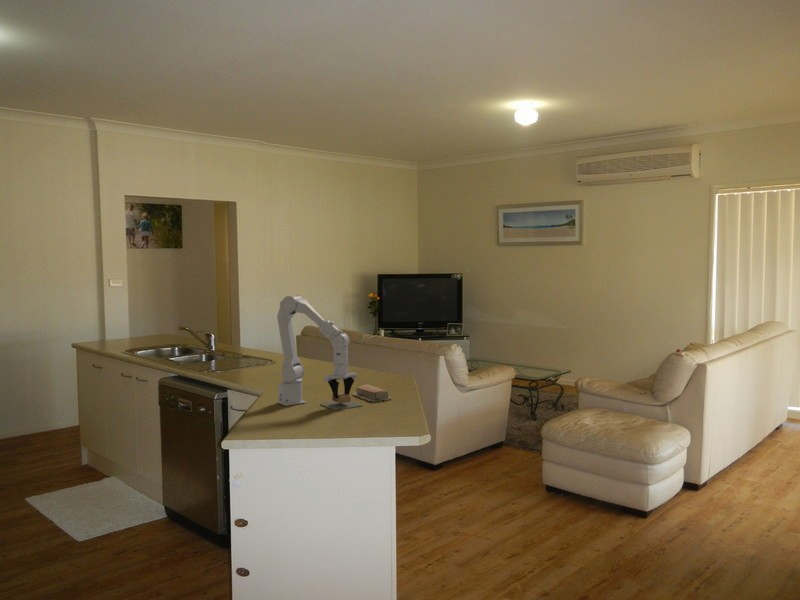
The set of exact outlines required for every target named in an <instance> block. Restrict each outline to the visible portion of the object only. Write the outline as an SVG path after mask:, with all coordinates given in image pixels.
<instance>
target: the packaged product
mask: <svg viewBox="0 0 800 600" xmlns="http://www.w3.org/2000/svg"><path fill="white" fill-rule="evenodd" d="M355 390H356V392H354V393H353V392H352V393H351V395H352V396H353V395H354V396H353V397H356V396H357V397H356V398H359V397H360V398H359V399H361V398H363V399H362V400H364V399H366V400H365V401H367V400H368V401H367V402H370V401H371V402H370V403H372V402H373V403H376V402H375V401H380V402H383V401H382V400H387V401H391V400H390V399H393V398H392V396H390V395H389V391H388V390H386V389H383V388H381V387H378V386H374V385H371V384H368V383H367V384H362V385H360V386H358V387H356V389H355Z"/></svg>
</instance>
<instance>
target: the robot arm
mask: <svg viewBox="0 0 800 600" xmlns="http://www.w3.org/2000/svg"><path fill="white" fill-rule="evenodd" d="M297 313H299V314H304V315H305V316H306V317H308V318H309V319H310V320H311V321H312V322H313V323H315V324H316V325H317V326H318V330H319V332H320V333H321V334H322V335H323V336H324V337H325V338H326V339H327V340H328V341H330V344H331V346H332V348H333V374H327V375H324V376H323V381H324V382H327V383H328V385H329V386H330V387H329V388H330V389H331V392H332V394H333V396H334V398H338V393H339V384H340V382H339V381H338V380H342V381H343V386H344V387H343V388H344V389H343V390H344V392H343V393H344V394H347V395H350V392H351V389H352V386H353V385H354V382H355V379H357V378H359V375H358V374H359V373H358V372H349V348H348V347H349V345H350V342H351V341H350V339H351V338H350V336H349V335H348V333H345V332H343V330H341V329H339V328H338V327H337V326H336V325H335V323H334V321H333V320H330V319H329V320H328V319H324V318H323V316H321V315H320V313H319V312H318V311H317V310H316V309H315V308H314V307H313V306H312V305H311V304H310V303H309V302H308V300H307V299H306V298H304V297H303V296H302V295H299V294H295V295H288V296H287V295H286V296H285V297H283V299H282V300H280V302H279V309H278V313H277V317H276V318H277V324H278V331H279V335H280V343H281V347H282V353H283V361H282V364H281V367H282V369H281V373H280V374H281V378H282V380H283V382H280V383H278V385H277V403H278V404H280V405H282V406H287V407H288V406H295V405H300V404H306V403H307V401H305V400H303V379H302V378H303V376H304V375H305V368H304V366H303V364H302V360H301V359H300V358H299V357H298V353H297V347H296V342H295V341H296V340H295V335H294V329H293V323H292V318H293V317H294V316H295V315H296V314H297Z"/></svg>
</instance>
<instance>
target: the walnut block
mask: <svg viewBox="0 0 800 600" xmlns="http://www.w3.org/2000/svg"><path fill="white" fill-rule="evenodd" d="M331 399H332V400H331V401H332V402H338V403H347V402H351V399H352V398H351V395H350V394H349V395H347V394H344V392H338V398H334V396H333V393H332V394H331Z"/></svg>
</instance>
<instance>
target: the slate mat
mask: <svg viewBox="0 0 800 600" xmlns="http://www.w3.org/2000/svg"><path fill="white" fill-rule="evenodd" d="M319 405H320V406H321V405H322V406H321V407H324V406H325V407H324V408H326V407H327V408H326V409H329V408H330V409H329V410H332V411H334V410H335V411H339V409H341V410H347V409H346V408H348V409H352V408H351V407H354V408H359V407H358V406H361V407H364V405H363V404H361V403H358V402H355V401H351V402H347V403H338V402H335V401H331V402H330V401H329V402H326V403H325V402H324V403H319Z"/></svg>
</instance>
